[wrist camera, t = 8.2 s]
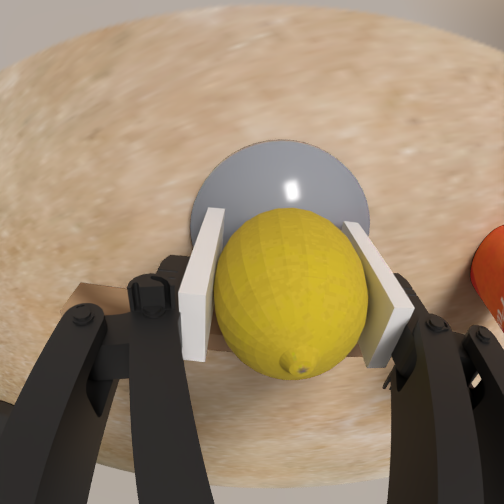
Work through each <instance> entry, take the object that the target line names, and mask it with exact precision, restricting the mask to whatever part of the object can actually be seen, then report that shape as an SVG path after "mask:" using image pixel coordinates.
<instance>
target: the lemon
mask: <svg viewBox="0 0 504 504" xmlns="http://www.w3.org/2000/svg"><path fill="white" fill-rule="evenodd" d="M213 291H214V303H215V312H216V317H217V321H218V324H219V327H220V329H221V332H222V334H223V337H224V339H225V341H226V343H227V345H228V346H229V348H230V349H231V350H232V351H233V352H234V354H235V355H236V356H237V357H238V358H239V359H240V360H241V361H242V362H243V363H244V364H246V365H247V366H249V367H250V368H252V369H253V370H255V371H256V372H259V373H261V374H264V375H266V376H269V377H272V378H277V379H282V380H300V379H307V378H311V377H314V376H317V375H320V374H322V373H324V372H326V371H328V370H330V369H331V368H333V367H334V366H336V365H337V364H338V363H339V362H341V361H342V360H343V359H344V358H345V357H346V356H347V355H348V354H349V352H350V351H351V350H352V349H353V348H354V346H355V345H356V344H357V342H358V339H359V337H360V335H361V333H362V330H363V328H364V326H365V321H366V315H367V307H368V291H367V285H366V280H365V275H364V270H363V266H362V263H361V260H360V258H359V256H358V254H357V252H356V251H355V249H354V247H353V246H352V244H351V242H350V241H349V239H348V238H347V237H346V235H345V234H344V233H343V232H342V231H341V230H339V229H338V228H337V227H336V226H335V225H334V224H333V223H332V222H330V221H329V220H328V219H326V218H324V217H322V216H320V215H318V214H316V213H314V212H312V211H308V210H303V209H298V208H277V209H273V210H270V211H266V212H263V213H260V214H258V215H256V216H255V217H253V218H251V219H249V220H248V221H246V222H245V223H244V224H243V225H242V226H241V227H240V228H239V229H238V230H237V231H236V232H235V233H234V234H233V235H232V236H231V237H230V239H229V241H228V242H227V244H226V246H225V247H224V249H223V251H222V253H221V255H220V257H219V260H218V264H217V269H216V273H215V278H214V285H213Z"/></svg>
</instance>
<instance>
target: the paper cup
mask: <svg viewBox="0 0 504 504" xmlns="http://www.w3.org/2000/svg"><path fill="white" fill-rule="evenodd" d="M470 277H471V282H472V285H473V287H474V288H475V290H476V291H477V293H478V295H479V296H480V298H481V299H482V301H483V302H484V304H485V305H486V306H487V308H488V309H489V311H490V312H491V314H492V315H493V317H494V319H495V320H496V322H497V323H498V325H499V326H500V328H501V329H502V331H503V333H504V225H502V226H500V227H498V228H496V229H494V230H493V231H492V232H491V233H490V234H488V235H487V237H486V238H485V239H484V240H483V241H482V243H481V244H480V246H479V248H478V249H477V251H476V253H475V256H474V258H473V261H472V265H471V271H470Z"/></svg>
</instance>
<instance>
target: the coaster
mask: <svg viewBox="0 0 504 504" xmlns="http://www.w3.org/2000/svg"><path fill="white" fill-rule="evenodd" d="M208 207H210V208H222V209H225V216H224V231H223V247H222V251H223V249H224V247H225V246H226V244H227V242H228V241H229V239H230V237H231V236H232V235H233V234H234V233H235V232H236V231H237V230H238V229H239V228H240V227H241V226H242V225H243V224H244V223H245V222H246V221H248V220H249V219H251V218H253V217H255V216H256V215H258V214H260V213H263V212H266V211H270V210H273V209H277V208H298V209H303V210H308V211H312V212H314V213H316V214H318V215H320V216H322V217H324V218H326V219H328V220H329V221H330V222H332V223H333V224H334V225H335V226H336V227H337V228H338V229H339V230H342V226H343V221H348V222H356V223H359V225H360V226H361V227H362V229H363V230H364V232H365V233H366V235H367V236H369V228H370V217H369V209H368V204H367V200H366V197H365V195H364V192H363V190H362V188H361V186H360V184H359V183H358V181H357V179H356V178H355V177H354V175H353V174H352V173H351V172H350V171H349V170H348V169H347V168H346V167H345V166H344V165H343V164H342V163H341V162H340V161H339V160H338V159H336V158H335V157H334V156H332V155H331V154H329V153H328V152H326V151H324V150H322V149H320V148H318V147H316V146H313V145H310V144H308V143H304V142H299V141H294V140H268V141H263V142H259V143H255V144H252V145H249V146H246V147H244V148H242V149H240V150H238V151H236V152H234V153H232V154H231V155H230V156H228V157H227V158H225V159H224V160H223V161H222V162H221V163H220V164H218V165H217V166H216V167H215V168H214V169H213V171H212V172H211V173H210V174H209V176H208V177H207V178H206V180H205V182H204V183H203V185H202V187H201V189H200V191H199V192H198V195H197V197H196V200H195V202H194V206H193V210H192V214H191V224H190V229H191V239H192V244H193V248H194V245H195V243H196V240H197V237H198V234H199V232H200V229H201V226H202V223H203V221H204V218H205V215H206V212H207V210H208Z"/></svg>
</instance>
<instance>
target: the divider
mask: <svg viewBox="0 0 504 504" xmlns="http://www.w3.org/2000/svg"><path fill="white" fill-rule="evenodd" d="M81 303H93V304H96V305H98V306H99V307H101V308H102V309H103V312H104V315H116V314H123V313H127V312H130V305H129V299H128V292H127V289H123V288H115V287H108V286H101V285H94V284H87V283H80V284H79V286H78V287H77V288H76V290H75V291H74V292H73V294H72V295H71V296H70V298H69V299H68V301H67V302H66V303H65V305H64V306H63V308H62V309H61V311H60V313H61V316H63V315H64V313H65V312H66V311H67V310H68V309H69V308H71V307H73V306H74V305H77V304H81ZM207 350H216V351H227V352H233V351H232V350H231V349H230V348H229V346H228V345H227V343H226V341H225V339H224V337H223V334H222V332H221V329H220V327H219V324H218V321H217V317H216V312H215V303H214V309H213V315H212V321H211V328H210V334H209V340H208V347H207ZM346 357H363V355H362V352H361V349H360V347H359V344H358V342H357V344H356V345H355V346H354V348H353V349H352V350H351V351H350V352H349V354H348V355H347V356H346Z"/></svg>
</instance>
